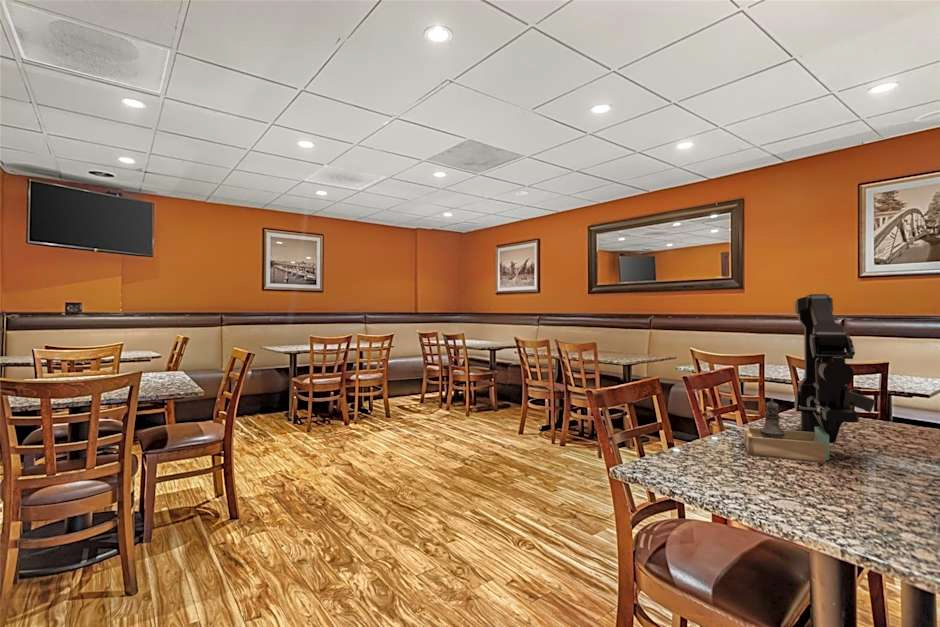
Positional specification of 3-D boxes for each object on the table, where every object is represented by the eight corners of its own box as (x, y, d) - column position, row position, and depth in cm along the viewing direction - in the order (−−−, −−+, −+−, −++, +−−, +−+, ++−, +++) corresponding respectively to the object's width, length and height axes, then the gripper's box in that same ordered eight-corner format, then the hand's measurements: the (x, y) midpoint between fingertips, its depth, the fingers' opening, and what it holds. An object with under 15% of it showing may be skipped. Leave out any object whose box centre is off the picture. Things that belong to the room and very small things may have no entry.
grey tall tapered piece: (753, 443, 125) (753, 397, 125) (768, 440, 128) (768, 395, 127) (776, 449, 120) (776, 401, 120) (791, 445, 122) (790, 399, 122)
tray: (749, 443, 129) (749, 421, 129) (819, 449, 123) (819, 426, 123) (754, 452, 121) (754, 429, 121) (829, 460, 115) (829, 435, 115)
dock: (743, 443, 131) (743, 426, 131) (813, 449, 125) (813, 432, 125) (748, 454, 121) (748, 437, 121) (825, 462, 114) (825, 443, 114)
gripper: (886, 387, 107) (888, 456, 107) (856, 375, 124) (858, 435, 124) (825, 385, 111) (827, 452, 111) (805, 374, 128) (807, 432, 128)
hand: (831, 442), depth 118 cm, fingers closed, pressing on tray
